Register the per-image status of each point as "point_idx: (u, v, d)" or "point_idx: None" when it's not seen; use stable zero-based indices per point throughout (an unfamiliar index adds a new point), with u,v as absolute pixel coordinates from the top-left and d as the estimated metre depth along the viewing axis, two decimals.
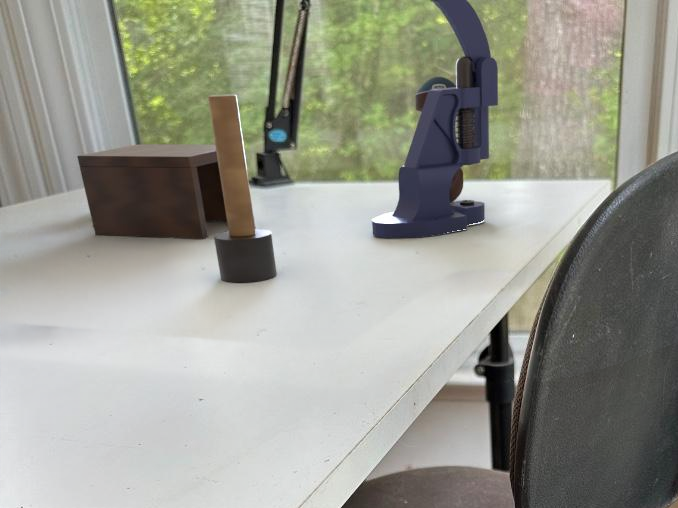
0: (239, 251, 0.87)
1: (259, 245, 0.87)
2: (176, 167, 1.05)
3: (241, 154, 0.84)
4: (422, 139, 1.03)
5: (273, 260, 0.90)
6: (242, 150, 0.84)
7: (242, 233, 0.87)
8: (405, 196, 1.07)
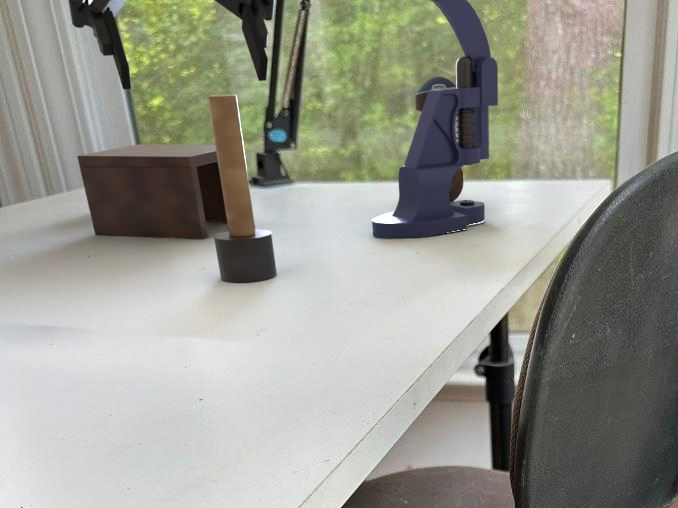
0: (239, 251, 0.87)
1: (259, 245, 0.87)
2: (176, 167, 1.05)
3: (241, 154, 0.84)
4: (422, 139, 1.03)
5: (273, 260, 0.90)
6: (242, 150, 0.84)
7: (242, 233, 0.87)
8: (405, 196, 1.07)
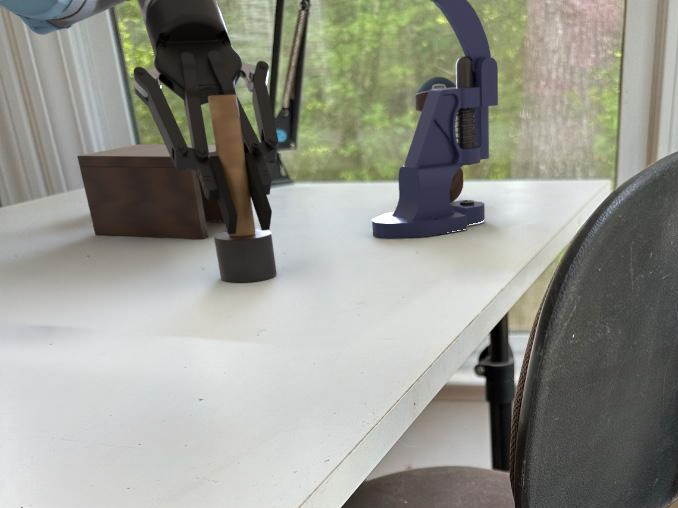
0: (239, 251, 0.87)
1: (259, 245, 0.87)
2: None
3: (241, 154, 0.84)
4: (422, 139, 1.03)
5: (273, 260, 0.90)
6: (242, 150, 0.84)
7: (242, 233, 0.87)
8: (405, 196, 1.07)
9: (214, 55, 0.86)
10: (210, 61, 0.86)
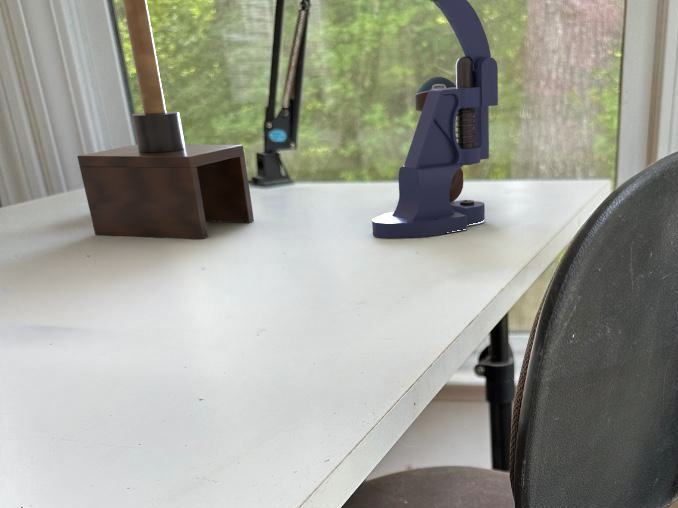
0: (151, 125, 1.07)
1: (168, 121, 1.07)
2: (176, 167, 1.05)
3: (151, 43, 1.04)
4: (422, 139, 1.03)
5: (181, 135, 1.10)
6: (151, 40, 1.04)
7: (154, 111, 1.07)
8: (405, 196, 1.07)
9: None
10: None
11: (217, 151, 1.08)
